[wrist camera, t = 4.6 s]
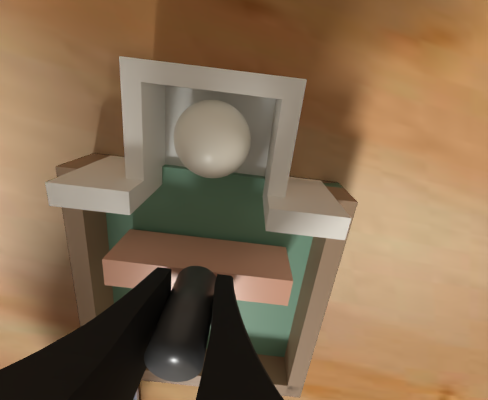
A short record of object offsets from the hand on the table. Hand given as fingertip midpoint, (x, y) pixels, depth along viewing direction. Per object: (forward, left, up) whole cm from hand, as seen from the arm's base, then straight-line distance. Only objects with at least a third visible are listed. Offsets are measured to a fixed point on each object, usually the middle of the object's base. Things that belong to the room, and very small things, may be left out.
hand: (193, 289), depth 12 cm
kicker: (0, 0, -4) cm, 4 cm away
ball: (+6, 0, -3) cm, 7 cm away
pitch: (0, 0, -5) cm, 5 cm away
